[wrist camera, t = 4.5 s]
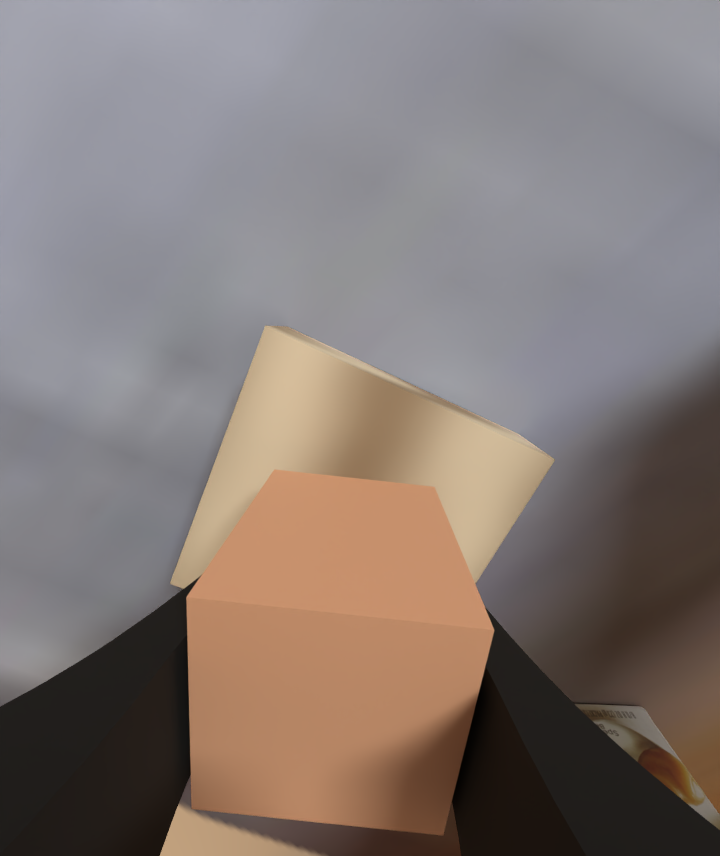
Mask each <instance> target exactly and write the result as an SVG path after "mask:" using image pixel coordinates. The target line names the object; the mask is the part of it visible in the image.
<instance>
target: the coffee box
mask: <svg viewBox="0 0 720 856" xmlns="http://www.w3.org/2000/svg"><path fill="white" fill-rule="evenodd" d="M575 705H576V706H577V707H578V708H579V709H580V710H581V711H582V712H583V713H584V714H585V715H586V716H587V717H589V718H590V719H591V720H592V721H593V722H594V723H595V724H596V725H597V726H598V727H599V728H600V729H602V730H603V731H604V732H605V733H606V734H607V735H608V736H609V737H610V738H611V739H612V740H613V741H615V742H616V743H617V744H618V745H619V746H620V747H621V748H622V749H623V750H624V751H626V752H627V753H628V754H629V755H630V756H631V757H632V758H634V759H635V760H636V761H637V762H638V763H639V764H640V765H642V766H643V767H644V768H645V769H646V770H647V771H649V772H650V773H651V774H652V775H653V776H655V777H656V778H657V779H658V780H659V781H661V782H662V783H663V784H664V785H665V786H667V787H668V788H669V789H670V790H671V791H673V792H674V793H675V794H676V795H677V796H679V797H680V798H681V799H682V800H683V801H685V802H686V803H687V804H688V805H689V806H691V807H692V808H693V809H694V810H695V811H697V812H698V813H699V814H700V815H702V816H703V817H704V818H705V819H707V820H708V821H709V822H710V823H712V824H713V825H714V826H715V827H717V828H718V829H719V830H720V815H719V813H718V812H717V810H716V809H715V808H714V806H713V805H712V804H711V802H710V801H709V800H708V798H707V797H706V795H705V794H704V792H703V791H702V789H701V788H700V786H699V785H698V784H697V782H696V781H695V780H694V778H693V777H692V775H691V774H690V773H689V771H688V770H687V768H686V767H685V766H684V764H683V763H682V762H681V760H680V759H679V758H678V756H677V755H676V753H675V752H674V750H673V749H672V748H671V746H670V745H669V743H668V742H667V741H666V739H665V738H664V736H663V735H662V734H661V732H660V731H659V729H658V728H657V727H656V725H655V724H654V722H653V721H652V719H651V718H650V716H649V715H648V713H647V712H646V710H645V709H644V708H642V707H640V706H621V705H599V704H575Z"/></svg>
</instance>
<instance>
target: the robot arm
mask: <svg viewBox="0 0 720 856" xmlns="http://www.w3.org/2000/svg"><path fill="white" fill-rule="evenodd" d="M200 577H201V576H200ZM200 577H198V578H197V579H196V580H194V581H193V582H192V583H191V584H189V585H188V586H187V587H186V588H184V589H183V590H182V591H180V592H179V593H178V594H176V595H175V596H174V597H172V598H171V599H170V600H168V601H167V602H166V603H164V604H163V605H162V606H160V607H159V608H158V609H156V610H155V611H154V612H152V613H151V614H150V615H148V616H147V617H145V618H144V619H142V620H141V621H140V622H138V623H137V624H135V625H134V626H132V627H131V628H129V629H128V630H127V631H125V632H124V633H122V634H121V635H119V636H118V637H117V638H115V639H114V640H112V641H111V642H109V643H108V644H106V645H105V646H103V647H102V648H100V649H98V650H97V651H95V652H94V653H92V654H91V655H89V656H87V657H86V658H84V659H83V660H81V661H79V662H78V663H76V664H74V665H73V666H71V667H69V668H68V669H66V670H64V671H63V672H61V673H59V674H58V675H56V676H54V677H53V678H51V679H49V680H48V681H46V682H44V683H43V684H41V685H39V686H37V687H36V688H34V689H32V690H30V691H28V692H27V693H25V694H23V695H21V696H19V697H17V698H15V699H14V700H12V701H10V702H8V703H6V704H4V705H3V706H1V707H0V856H160V853H161V850H162V847H163V844H164V842H165V839H166V836H167V833H168V831H169V828H170V825H171V822H172V819H173V817H174V814H175V811H176V809H177V806H178V804H179V801H180V799H181V796H182V794H183V791H184V789H185V786H186V784H187V781H188V779H189V777H190V775H191V762H190V722H189V681H188V641H187V600H186V597H187V596H188V594H189V593H190V591H191V590H192V588H193V587H194V585H195V584H196V582H197V581H198V580H199V578H200ZM485 609H486V607H485ZM486 611H487V614H488V616H489V618H490V621H491V623H492V626H493V628H494V634H493V638H492V642H491V646H490V650H489V654H488V658H487V662H486V666H485V670H484V674H483V678H482V682H481V686H480V690H479V694H478V698H477V702H476V706H475V710H474V714H473V718H472V722H471V726H470V730H469V734H468V738H467V742H466V746H465V750H464V754H463V758H462V762H461V766H460V770H459V774H458V778H457V782H456V786H455V790H454V794H453V798H452V803H453V808H454V813H455V819H456V825H457V830H458V836H459V842H460V849H461V856H720V830H719V829H718V828H717V827H715V826H714V825H713V824H712V823H710V822H709V821H708V820H707V819H705V818H704V817H703V816H702V815H700V814H699V813H698V812H697V811H695V810H694V809H693V808H692V807H691V806H689V805H688V804H687V803H686V802H685V801H683V800H682V799H681V798H680V797H679V796H677V795H676V794H675V793H674V792H673V791H671V790H670V789H669V788H668V787H667V786H665V785H664V784H663V783H662V782H661V781H659V780H658V779H657V778H656V777H655V776H653V775H652V774H651V773H650V772H649V771H647V770H646V769H645V768H644V767H643V766H642V765H640V764H639V763H638V762H637V761H636V760H635V759H634V758H632V757H631V756H630V755H629V754H628V753H627V752H626V751H624V750H623V749H622V748H621V747H620V746H619V745H618V744H617V743H616V742H615V741H613V740H612V739H611V738H610V737H609V736H608V735H607V734H606V733H605V732H604V731H603V730H602V729H600V728H599V727H598V726H597V725H596V724H595V723H594V722H593V721H592V720H591V719H590V718H589V717H587V716H586V715H585V714H584V713H583V712H582V711H581V710H580V709H579V708H578V707H577V706H576V705H575V704H574V703H573V702H572V701H571V700H570V699H569V698H568V697H567V696H566V695H565V694H564V693H563V692H562V691H561V690H560V689H559V688H558V687H557V686H556V685H555V684H554V683H553V682H552V681H551V680H550V679H549V678H548V677H547V676H546V675H545V674H544V673H543V672H542V671H541V670H540V669H539V667H538V666H537V665H536V664H535V663H534V662H533V661H532V660H531V659H530V658H529V657H528V656H527V655H526V653H525V652H524V651H523V650H522V649H521V648H520V647H519V646H518V645H517V643H516V642H515V641H514V640H513V639H512V638H511V637H510V636H509V634H508V633H507V632H506V631H505V630H504V629H503V628H502V626H501V625H500V624H499V623H498V622H497V620H496V619H495V618H494V617H493V616H492V615H491V613H490V612H489V611H488V610H487V609H486Z"/></svg>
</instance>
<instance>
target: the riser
mask: <svg viewBox="0 0 720 856" xmlns="http://www.w3.org/2000/svg"><path fill="white" fill-rule="evenodd" d="M554 461H555V459H553V458H552V457H551V456H549V455H548V454H546V453H545V452H543V451H542V450H540V449H539V448H538V447H536V446H535V445H533V444H532V443H530V442H529V441H528V440H526V439H525V438H523V437H522V436H520V435H519V434H517V433H515V432H513V431H511V430H509V429H506V428H504V427H502V426H500V425H498V424H496V423H494V422H491V421H489V420H487V419H485V418H483V417H481V416H478V415H476V414H474V413H472V412H470V411H468V410H466V409H463V408H461V407H459V406H457V405H455V404H453V403H451V402H448V401H446V400H444V399H442V398H440V397H438V396H435V395H433V394H431V393H429V392H427V391H425V390H423V389H420V388H418V387H416V386H414V385H412V384H410V383H408V382H405V381H403V380H401V379H399V378H397V377H395V376H392V375H390V374H388V373H386V372H384V371H382V370H380V369H377V368H375V367H373V366H371V365H369V364H367V363H364V362H362V361H360V360H358V359H356V358H354V357H352V356H349V355H347V354H345V353H343V352H341V351H339V350H337V349H334V348H332V347H330V346H328V345H326V344H324V343H321V342H319V341H317V340H315V339H313V338H311V337H309V336H306V335H304V334H302V333H300V332H298V331H296V330H294V329H291V328H289V327H283V326H265V328H264V331H263V333H262V336H261V339H260V342H259V344H258V347H257V350H256V352H255V355H254V358H253V360H252V363H251V366H250V369H249V371H248V374H247V377H246V379H245V382H244V385H243V388H242V390H241V393H240V396H239V398H238V401H237V404H236V406H235V409H234V412H233V415H232V417H231V420H230V423H229V425H228V428H227V431H226V433H225V436H224V439H223V442H222V444H221V447H220V450H219V452H218V455H217V458H216V461H215V463H214V466H213V469H212V471H211V474H210V477H209V479H208V482H207V485H206V488H205V490H204V493H203V496H202V498H201V501H200V504H199V507H198V509H197V512H196V515H195V517H194V520H193V523H192V525H191V528H190V531H189V534H188V536H187V539H186V542H185V544H184V547H183V550H182V553H181V555H180V558H179V561H178V563H177V566H176V569H175V571H174V574H173V577H172V580H171V582H170V584H172V585H175V586H178V587H180V588H183V589H184V588H186V587H187V586H188V585H189V584H191V583H192V582H193V581H194V580H196V579H197V578H198V577H200V576H201V575H202V574H203V572H204V571H205V569H206V568H207V567H208V565H209V564H210V562H211V561H212V559H213V558H214V556H215V555H216V553H217V552H218V551H219V549H220V548H221V546H222V545H223V543H224V542H225V540H226V539H227V537H228V536H229V535H230V533H231V532H232V530H233V529H234V527H235V526H236V524H237V523H238V521H239V520H240V519H241V517H242V516H243V514H244V513H245V511H246V510H247V508H248V507H249V505H250V504H251V503H252V501H253V500H254V498H255V497H256V495H257V494H258V492H259V491H260V489H261V488H262V487H263V485H264V484H265V482H266V481H267V479H268V478H269V476H270V475H271V473H272V472H273V471H274V469H275V470H285V471H294V472H303V473H312V474H322V475H331V476H340V477H349V478H359V479H368V480H377V481H386V482H395V483H405V484H414V485H423V486H432V487H435V489H436V492H437V494H438V496H439V499H440V501H441V504H442V506H443V508H444V511H445V513H446V515H447V518H448V520H449V523H450V525H451V527H452V530H453V532H454V535H455V537H456V539H457V542H458V544H459V547H460V549H461V551H462V554H463V556H464V559H465V561H466V563H467V566H468V568H469V571H470V573H471V575H472V578H473V580H474V583H476V582H477V580H478V579H479V577H480V576H481V574H482V573H483V571H484V569H485V568H486V566H487V565H488V563H489V562H490V560H491V559H492V557H493V555H494V554H495V552H496V551H497V549H498V548H499V546H500V545H501V543H502V542H503V540H504V538H505V537H506V535H507V534H508V532H509V531H510V529H511V528H512V526H513V524H514V523H515V521H516V520H517V518H518V517H519V515H520V514H521V512H522V510H523V509H524V507H525V506H526V504H527V503H528V501H529V500H530V498H531V496H532V495H533V493H534V492H535V490H536V489H537V487H538V486H539V484H540V482H541V481H542V479H543V478H544V476H545V475H546V473H547V472H548V470H549V468H550V467H551V465H552V464H553V462H554Z"/></svg>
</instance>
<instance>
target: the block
mask: <svg viewBox="0 0 720 856" xmlns="http://www.w3.org/2000/svg"><path fill="white" fill-rule="evenodd" d="M186 600H187V641H188V681H189V722H190V762H191V803H192V809H196V810H205V811H215V812H224V813H234V814H243V815H253V816H262V817H272V818H281V819H291V820H300V821H309V822H319V823H328V824H338V825H347V826H357V827H366V828H376V829H385V830H395V831H404V832H414V833H423V834H433V835H442V836H443V834H444V830H445V826H446V822H447V818H448V814H449V810H450V806H451V802H452V798H453V794H454V790H455V786H456V782H457V778H458V774H459V770H460V766H461V762H462V758H463V754H464V750H465V746H466V742H467V738H468V734H469V730H470V726H471V722H472V718H473V714H474V710H475V706H476V702H477V698H478V694H479V690H480V686H481V682H482V678H483V674H484V670H485V666H486V662H487V658H488V654H489V650H490V646H491V642H492V638H493V634H494V628H493V626H492V623H491V621H490V618H489V616H488V614H487V611H486V609H485V606H484V604H483V602H482V599H481V597H480V594H479V592H478V590H477V587H476V585H475V583H474V580H473V578H472V575H471V573H470V571H469V568H468V566H467V563H466V561H465V559H464V556H463V554H462V551H461V549H460V547H459V544H458V542H457V539H456V537H455V535H454V532H453V530H452V527H451V525H450V523H449V520H448V518H447V515H446V513H445V511H444V508H443V506H442V504H441V501H440V499H439V496H438V494H437V492H436V489H435V487H432V486H423V485H414V484H405V483H395V482H386V481H377V480H368V479H359V478H349V477H340V476H331V475H322V474H312V473H303V472H294V471H285V470H275V469H274V471H273V472H272V473H271V475H270V476H269V478H268V479H267V481H266V482H265V484H264V485H263V487H262V488H261V489H260V491H259V492H258V494H257V495H256V497H255V498H254V500H253V501H252V503H251V504H250V505H249V507H248V508H247V510H246V511H245V513H244V514H243V516H242V517H241V519H240V520H239V521H238V523H237V524H236V526H235V527H234V529H233V530H232V532H231V533H230V535H229V536H228V537H227V539H226V540H225V542H224V543H223V545H222V546H221V548H220V549H219V551H218V552H217V553H216V555H215V556H214V558H213V559H212V561H211V562H210V564H209V565H208V567H207V568H206V569H205V571H204V572H203V574H202V575H201V577H200V578H199V580H198V581H197V582H196V584H195V585H194V587H193V588H192V590H191V591H190V593H189V594H188V596H187V597H186Z"/></svg>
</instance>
